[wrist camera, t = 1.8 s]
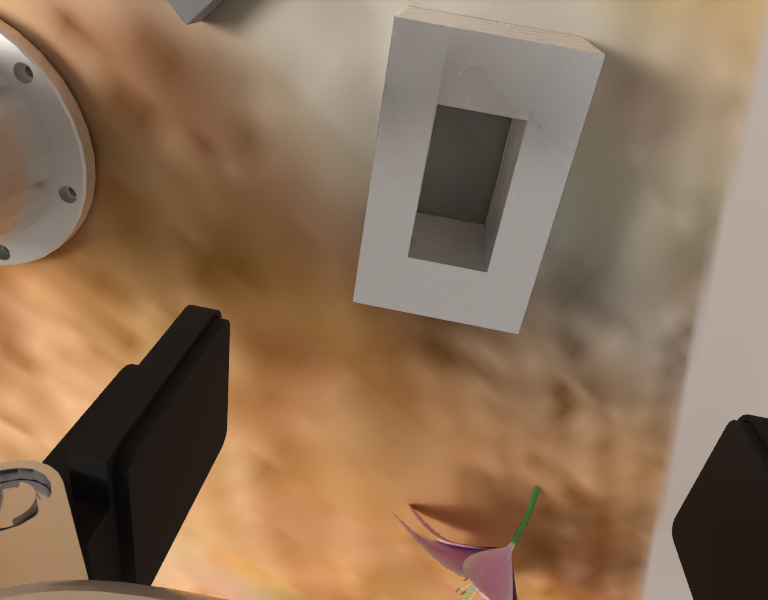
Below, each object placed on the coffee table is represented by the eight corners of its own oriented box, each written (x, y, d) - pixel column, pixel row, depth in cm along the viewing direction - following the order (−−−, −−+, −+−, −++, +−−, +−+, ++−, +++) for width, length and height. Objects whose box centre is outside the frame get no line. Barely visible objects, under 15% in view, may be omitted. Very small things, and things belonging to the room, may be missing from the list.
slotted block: (511, 279, 30) (518, 334, 26) (369, 252, 30) (352, 301, 26) (582, 36, 24) (605, 54, 20) (408, 5, 25) (394, 16, 20)
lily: (403, 408, 36) (326, 567, 31) (614, 461, 30) (562, 668, 25) (450, 500, 44) (394, 638, 39) (623, 555, 38) (584, 726, 33)
